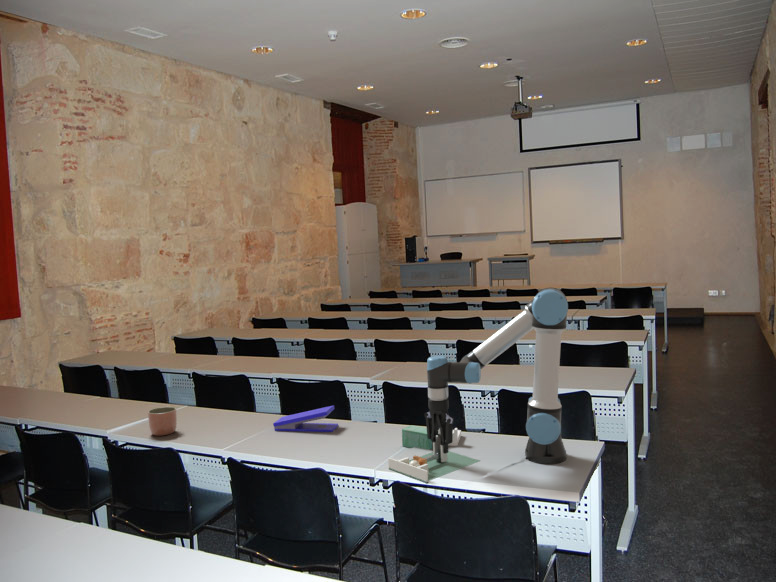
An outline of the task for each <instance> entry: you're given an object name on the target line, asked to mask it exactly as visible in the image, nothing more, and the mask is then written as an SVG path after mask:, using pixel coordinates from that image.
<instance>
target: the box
mask: <svg viewBox="0 0 776 582" xmlns="http://www.w3.org/2000/svg"><path fill="white" fill-rule="evenodd" d="M401 431H402V432H401V434H402V435H401V439H402V440H401V441H402V442H401V443H402V444H401V445H402V446H401V447H405V448H409V449H410V448H411V449H414V448H417V449H418V448H419V449H424V450H427V451H429V450H433V449H432V441H431V440H430V439H428V437H427V427H424V426H419V425H412V424H411V425H408V426H407V427H403V428H402V429H401ZM438 434H439V432H438Z"/></svg>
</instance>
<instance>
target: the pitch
mask: <svg viewBox="0 0 776 582" xmlns="http://www.w3.org/2000/svg"><path fill="white" fill-rule="evenodd" d="M431 455H433V452H430V453H427V454H426V453H425V454H424V455H421V456H419V457H422V458H425V457H428V456H431ZM447 458H448V461H445V462H442V463H439V462H436V460H432V461H430V462H427V464H424V465H421V466H418V467H415V466H412V465H409V463H410V462H411V461H413V458H412V459H410V457H407V456H406V457H404V458H401V459H394V458H392V457H388V459H387V461H388V470H389V471H391V472H395V473H396V474H400V475H403V476H406V477H409V478H411V479H414V480H416V481H419V482H421V483H425V484H430V482H429V481H432V480H434V479H436V478H440V477H442V476H445V475H447V474H450V473H452V472H455V471H457V470H458V471H459V470H460V469H463V468H465V467H468V466H470V465H473V464H477V463H478V462H481V460H480V459H475V458H473V457H469V456H466V455H463V454H460V453H457V452H453V451H450V450H448V453H447Z"/></svg>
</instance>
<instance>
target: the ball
mask: <svg viewBox="0 0 776 582" xmlns="http://www.w3.org/2000/svg"><path fill="white" fill-rule="evenodd" d="M409 465H412V466H415V467H418V466H420V464H419V462H418V461H416V460H413V461H411V462H410V463H409Z"/></svg>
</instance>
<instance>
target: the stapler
mask: <svg viewBox="0 0 776 582" xmlns="http://www.w3.org/2000/svg"><path fill="white" fill-rule="evenodd" d="M334 410H335V405H330V406H325V407H321V408H316V409H312V410H308V411H307V410H306V411H303V412H299V413H294V414H289V415H284V416H281V417H279V418H278V420H276V421H274V422H272V423H273V427H274V428H273V429H274V431H275V432H313V433H314V432H316V433H317V432H318V433H319V432H321V433H332V432H334V431H335V430H336V429H337V427H339V423H327V422H326V423H325V422H324V423H323V422H319V423H318V422H314V421H317V420H324V419H325V418H326V417H327V416H328V417H329V415H330V414H331V413H332V412H333V411H334Z"/></svg>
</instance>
